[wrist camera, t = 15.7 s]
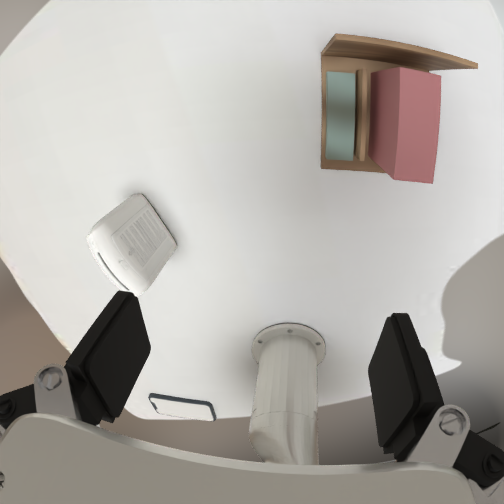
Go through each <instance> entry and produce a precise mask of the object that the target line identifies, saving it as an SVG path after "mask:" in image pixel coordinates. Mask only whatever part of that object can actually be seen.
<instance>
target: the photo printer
mask: <svg viewBox="0 0 504 504" xmlns="http://www.w3.org/2000/svg"><path fill="white" fill-rule="evenodd" d="M86 240H87V243H88V246H89V248H90V250H91V252H92V254H93V256H94V258H95V260H96V262H97V263H98V265H99V266H100V268H101V269H102V270H103V272H104V273H105V274H106V276H107V277H108V278H109V279H110V280H111V281H112V282H113V284H114V285H115V286H116V287H118V288H119V289H120V290H121V291H127V292H132V293H133V294H134V295H135V296H140V295H141V294H143V293H144V292H145V291H146V290H147V289H148V288H149V287H150V286H151V284H152V283H153V282H154V280H155V279H156V277H157V276H158V274H159V273H160V271H161V270H162V268H163V267H164V265H165V264H166V262H167V261H168V259H169V258H170V257H171V255H172V254H173V252H174V251H175V249H176V248H177V245H176V243H175V241H174V239H173V237H172V236H171V234H170V233H169V231H168V230H167V228H166V227H165V225H164V224H163V222H162V221H161V219H160V218H159V216H158V215H157V213H156V212H155V210H154V209H153V207H152V206H151V205H150V203H149V202H148V201H147V199H146V198H145V197H144V196H143V195H142V194H140V195H139V194H135V195H132V196H131V197H129V198H128V199H127V200H125V201H124V202H123V203H121V204H120V205H119V206H117V207H116V208H115V209H113V210H112V211H111V212H109V213H108V214H107V215H106V216H104V217H103V218H102V219H100V220H99V221H98V222H97V223H96V224H95V225H94V226H93V227H92V229H91V231H90V234H88V235H87V236H86Z"/></svg>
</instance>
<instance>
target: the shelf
mask: <svg viewBox="0 0 504 504" xmlns="http://www.w3.org/2000/svg"><path fill="white" fill-rule="evenodd" d="M397 67H403V68H408V69H413V70H418V71H423V72H427V73H429V71H431V70H447V69H478V63H475V62H472V61H469V60H466V59H463V58H460V57H457V56H453V55H450V54H446V53H443V52H439V51H435V50H432V49H428V48H423V47H419V46H415V45H410V44H405V43H400V42H395V41H390V40H384V39H377V38H371V37H363V36H355V35H346V34H335V35H334V36H333V37H332V39H331V40H330V41H329V43H328V44H327V45H326V47H325V48H324V49H323V51H322V52H321V72H322V140H321V169H336V170H353V171H368V172H380V173H386V172H385V171H384V170H383V169H382V168H381V167H380V166H379V165H378V164H377V163H375V162H374V161H373V160H372V159H371V158H370V157H369V156H368V147H369V128H370V93H371V72H376V71H381V70H386V69H391V68H397Z"/></svg>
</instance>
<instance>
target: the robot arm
mask: <svg viewBox="0 0 504 504" xmlns="http://www.w3.org/2000/svg"><path fill="white" fill-rule="evenodd" d="M150 350H151V345H150V342H149V338H148V335H147V331H146V327H145V324H144V320H143V316H142V312H141V309H140V305H139V301H138V298H137V297H136V296H135V295H134V294H133V293H132V292H127V291H118V292H117V293H116V294H115V295H114V296H113V298H112V299H111V300H110V302H109V303H108V304H107V306H106V307H105V308H104V310H103V311H102V312H101V314H100V315H99V316H98V318H97V319H96V320H95V322H94V323H93V324H92V326H91V327H90V329H89V330H88V331H87V333H86V334H85V335H84V337H83V338H82V340H81V341H80V342H79V344H78V345H77V347H76V348H75V350H74V351H73V352H72V354H71V355H70V357H69V358H68V360H67V361H66V365H65V366H64V367H63V366H61V365H59V364H49V365H46V366H44V367H43V368H41V369H40V370H39V371H38V372H37V374H36V376H35V378H34V384H32V385H29V386H26V387H23V388H20V389H17V390H14V391H12V392H9V393H6V394H3V395H1V396H0V504H504V452H503V451H502V450H501V449H500V448H498V447H496V446H495V445H493V444H491V443H490V442H488V441H486V440H485V439H484V438H482V437H480V436H479V435H477V434H476V433H474V432H472V431H471V430H469V428H470V420H469V417H468V415H467V413H466V412H465V411H464V410H463V409H462V408H460V407H458V406H456V405H444V402H443V399H442V396H441V393H440V389H439V386H438V383H437V380H436V378H435V375H434V372H433V369H432V366H431V363H430V360H429V358H428V355H427V352H426V351H425V349H424V348H422V347H421V345H420V342H419V339H418V337H417V334H416V332H415V329H414V327H413V324H412V322H411V319H410V317H409V315H408V314H407V313H393V314H392V315H391V317H387V319H386V321H385V324H384V327H383V330H382V333H381V335H380V338H379V341H378V344H377V346H376V349H375V351H374V354H373V357H372V359H371V362H370V364H369V368H368V375H369V380H370V386H371V392H372V399H373V405H374V412H375V419H376V426H377V434H378V442H379V446H380V447H383V450H384V454H388V453H394V458H395V459H396V460H395V462H393V463H377V464H362V465H327V466H325V465H319V461H318V398H317V366H318V365H319V364H320V363H321V362H322V360H323V359H324V356H325V343H324V341H323V339H322V337H321V336H320V335H319V334H318V333H317V332H316V331H314V330H312V329H311V328H308V327H306V326H303V325H298V324H279V325H274V326H271V327H269V328H266V329H265V330H263V331H261V332H260V333H259V334H258V335H257V336H256V338H255V339H254V341H253V345H252V355H253V358H254V360H255V361H256V362H257V363H258V364H259V368H258V375H257V382H256V388H255V395H254V402H253V408H252V415H251V422H250V428H249V439H250V442H251V445H252V447H253V449H254V450H255V452H256V453H257V454H258V456H259V457H260V458H261V460H262V461H263V462H264V463H261V462H251V461H242V460H234V459H227V458H220V457H214V456H208V455H203V454H197V453H192V452H187V451H182V450H177V449H174V448H169V447H165V446H161V445H157V444H153V443H149V442H145V441H142V440H138V439H135V438H132V437H128V436H125V435H122V434H118V433H115V432H112V431H109V430H106V429H103V428H100V426H99V423H100V421H101V420H104V421H107V422H110V423H113V422H114V420H115V418H116V417H119V416H120V414H121V412H122V410H123V408H124V406H125V404H126V401H127V399H128V397H129V395H130V393H131V391H132V389H133V387H134V385H135V383H136V380H137V378H138V376H139V374H140V372H141V370H142V368H143V366H144V364H145V362H146V360H147V358H148V356H149V354H150Z"/></svg>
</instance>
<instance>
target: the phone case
mask: <svg viewBox="0 0 504 504" xmlns="http://www.w3.org/2000/svg"><path fill="white" fill-rule="evenodd" d="M148 398H149V400H150V402H151V403H152V405H153V407H154V409H155V410H156V412H157V413H159V414H164V415H169V416H176V417H182V418H189V419H196V420H204V421H215V420H216V415H215V412H214V409H213V406H212V404H211V403H210V402H207V401H200V400H192V399H185V398H179V397H172V396H166V395H160V394H154V393H150V395H149V397H148Z"/></svg>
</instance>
